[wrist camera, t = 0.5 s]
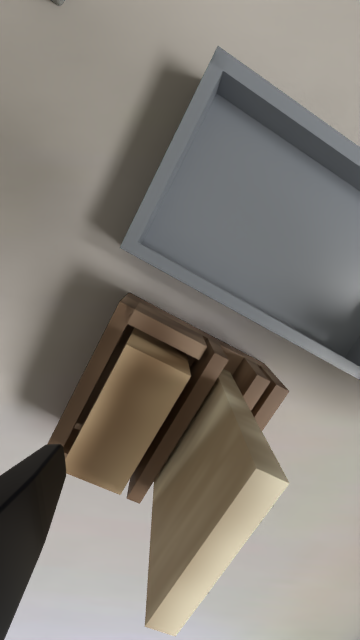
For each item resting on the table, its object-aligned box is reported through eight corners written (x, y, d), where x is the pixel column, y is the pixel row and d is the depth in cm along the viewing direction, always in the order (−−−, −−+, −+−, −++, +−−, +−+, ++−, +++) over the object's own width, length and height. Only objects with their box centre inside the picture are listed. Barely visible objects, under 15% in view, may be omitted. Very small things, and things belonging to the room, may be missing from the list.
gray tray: (431, 235, 20) (477, 231, 17) (338, 365, 22) (364, 382, 19) (209, 82, 17) (217, 45, 14) (127, 248, 19) (119, 247, 16)
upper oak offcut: (188, 361, 17) (191, 376, 15) (125, 467, 19) (120, 494, 17) (131, 333, 17) (126, 344, 14) (72, 445, 18) (59, 470, 16)
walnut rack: (264, 363, 21) (289, 391, 17) (191, 476, 24) (196, 526, 19) (129, 292, 20) (118, 302, 15) (63, 421, 22) (37, 462, 17)
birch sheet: (230, 372, 20) (289, 483, 10) (172, 464, 21) (175, 636, 12) (212, 363, 20) (256, 468, 10) (155, 457, 21) (144, 626, 12)
